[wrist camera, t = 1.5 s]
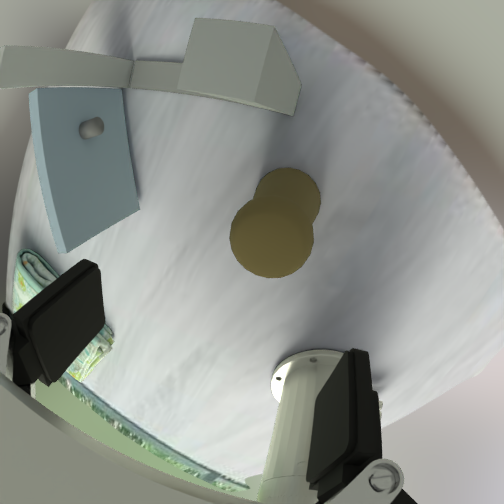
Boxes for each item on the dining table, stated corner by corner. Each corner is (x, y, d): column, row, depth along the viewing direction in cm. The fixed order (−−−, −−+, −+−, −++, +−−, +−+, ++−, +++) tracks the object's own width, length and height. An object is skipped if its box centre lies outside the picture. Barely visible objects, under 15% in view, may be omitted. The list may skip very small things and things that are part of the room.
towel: (92, 373, 48) (78, 390, 44) (20, 298, 46) (4, 311, 41) (123, 335, 40) (105, 356, 36) (33, 239, 38) (11, 252, 33)
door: (112, 92, 25) (28, 93, 15) (134, 84, 24) (49, 80, 14) (131, 210, 30) (58, 253, 20) (152, 208, 29) (80, 252, 19)
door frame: (301, 84, 22) (273, 26, 8) (293, 116, 24) (253, 102, 9) (112, 61, 24) (-13, 52, 10) (107, 86, 25) (-20, 91, 11)
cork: (267, 157, 26) (232, 179, 16) (331, 182, 25) (337, 221, 15) (246, 217, 28) (205, 270, 19) (305, 241, 28) (295, 307, 18)
